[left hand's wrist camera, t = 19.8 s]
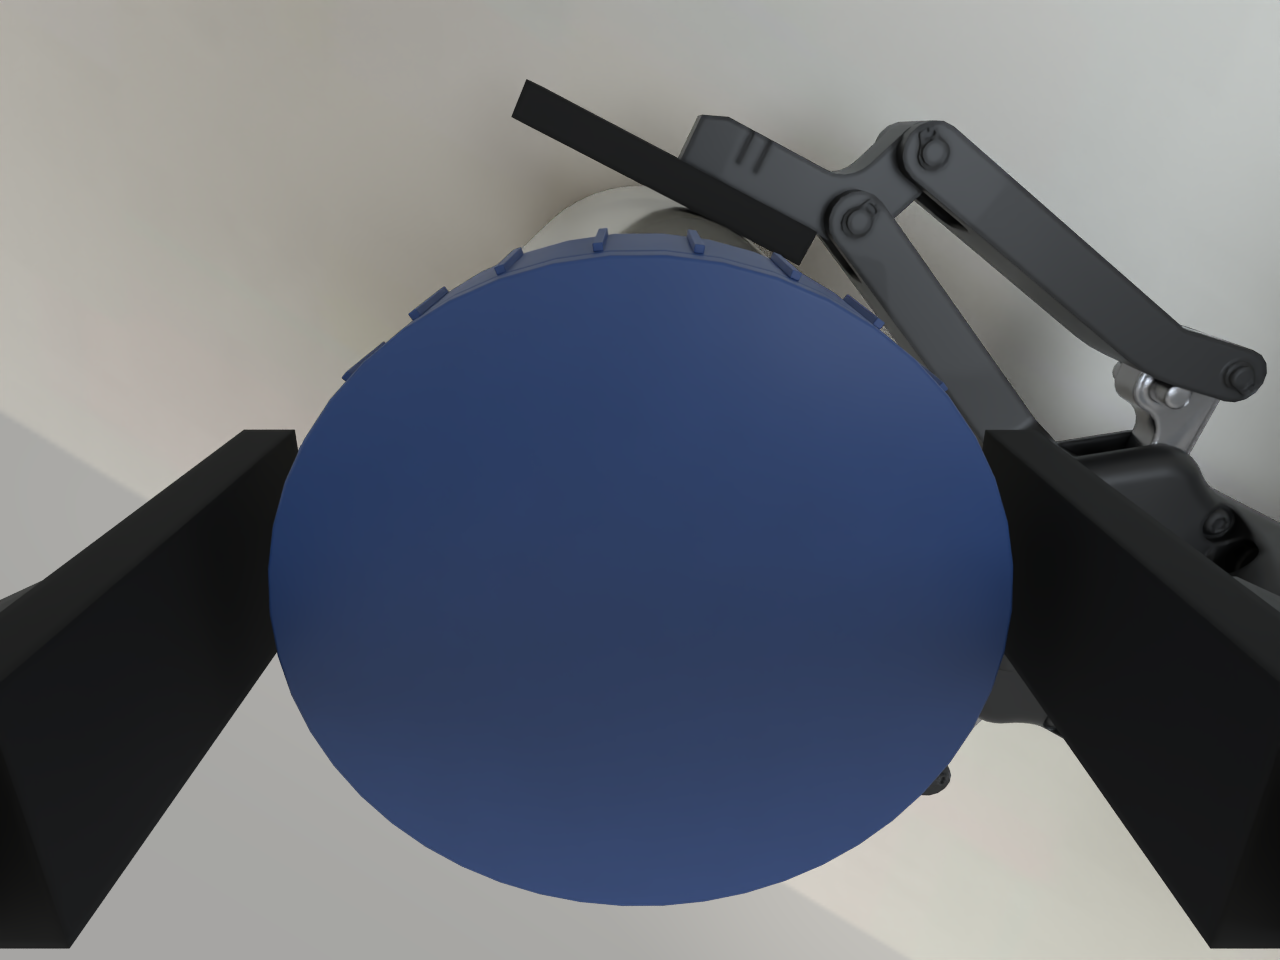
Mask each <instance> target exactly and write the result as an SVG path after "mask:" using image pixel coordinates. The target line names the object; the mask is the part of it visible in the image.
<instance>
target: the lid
mask: <svg viewBox="0 0 1280 960" xmlns="http://www.w3.org/2000/svg"><path fill="white" fill-rule="evenodd" d="M409 316H410V317H411V319H412V320H413V321H412V322H410V323H409V324H408V325H407V326H406V327H404V328H403V329H402V330H401V331H400V332H398V333H397V334H396V335H395V336H394V337H392V338H391V339H390V340H389V341H388V342H386V343H385V342H382V343H381V344H380V345H379V346H377V347H376V348H375V349H374V350H373V351H371V352H370V353H369V354H368V355H366V356H365V357H364V358H363V359H361V360H360V361H359V362H358V363H357V364H355V365H354V366H353V367H352V368H350V369H349V370H348V371H347V372H346V373H345V374H344V375H343V377H342V379H343V380H345V381H346V382H345V383H344V384H343V385H342V386H341V388H340V389H339V390H338V391H337V392H336V393H335V394H334V395H333V397H332V398H331V399H330V400H329V402H328V403H327V405H326V406H325V408H324V409H323V411H322V413H321V414H320V416H319V417H318V419H317V420H316V422H315V423H314V425H313V426H312V428H311V430H310V431H309V433H308V434H307V436H306V437H305V439H304V441H303V443H302V445H301V446H300V448H299V450H298V454H297V456H296V458H295V461H294V463H293V465H292V467H291V470H290V472H289V474H288V476H287V478H286V481H285V483H284V487H283V491H282V494H281V498H280V502H279V505H278V509H277V513H276V516H275V520H274V524H273V529H272V538H271V547H270V556H269V565H268V584H269V608H270V618H271V623H272V628H273V634H274V639H275V644H276V649H277V654H278V658H279V660H280V663H281V666H282V669H283V672H284V675H285V678H286V681H287V684H288V686H289V689H290V692H291V695H292V697H293V699H294V701H295V703H296V705H297V707H298V709H299V711H300V713H301V715H302V717H303V718H304V720H305V722H306V724H307V726H308V728H309V730H310V732H311V733H312V735H313V736H314V738H315V739H316V741H317V742H318V744H319V745H320V747H321V748H322V749H323V751H324V752H325V754H326V755H327V757H328V758H329V760H330V761H331V762H332V764H333V765H334V766H335V768H336V769H337V770H338V771H339V772H340V773H341V774H342V775H343V777H344V778H345V779H346V780H347V781H348V782H349V783H350V784H351V786H352V787H353V788H354V789H355V790H356V791H357V792H358V793H359V794H360V796H361V797H363V798H364V799H365V800H366V801H367V802H368V803H369V804H371V805H372V806H373V807H374V808H375V809H376V810H377V811H378V812H380V813H381V814H382V815H383V816H384V817H385V818H386V819H388V820H389V821H390V822H391V823H392V824H394V825H395V826H397V827H398V828H399V829H401V830H402V831H404V832H405V833H407V834H408V835H410V836H411V837H412V838H414V839H415V840H417V841H418V842H420V843H421V844H422V845H424V846H425V847H427V848H429V849H431V850H433V851H434V852H436V853H438V854H440V855H442V856H444V857H445V858H447V859H449V860H451V861H453V862H455V863H456V864H458V865H460V866H462V867H464V868H467V869H469V870H472V871H474V872H477V873H479V874H481V875H484V876H486V877H489V878H491V879H493V880H496V881H498V882H501V883H504V884H508V885H511V886H515V887H518V888H521V889H524V890H528V891H531V892H534V893H538V894H542V895H547V896H552V897H557V898H563V899H568V900H573V901H578V902H586V903H597V904H608V905H618V906H664V905H674V904H684V903H694V902H703V901H709V900H714V899H719V898H724V897H729V896H734V895H739V894H743V893H747V892H751V891H754V890H757V889H760V888H763V887H767V886H770V885H773V884H776V883H780V882H783V881H786V880H788V879H790V878H793V877H795V876H798V875H800V874H802V873H805V872H807V871H809V870H812V869H814V868H816V867H819V866H821V865H823V864H825V863H827V862H829V861H830V860H832V859H834V858H836V857H838V856H839V855H841V854H843V853H845V852H847V851H848V850H850V849H852V848H854V847H856V846H857V845H859V844H861V843H862V842H863V841H865V840H866V839H868V838H869V837H870V836H872V835H873V834H875V833H876V832H877V831H879V830H880V829H882V828H883V827H884V826H886V825H887V824H889V823H890V822H891V821H893V820H894V819H895V818H896V817H897V816H898V815H899V814H901V813H902V812H903V811H904V810H905V809H906V808H907V807H908V806H909V805H911V804H912V803H913V802H914V801H915V800H916V799H917V798H918V797H919V796H921V795H922V794H923V793H924V792H925V790H926V789H927V788H928V787H929V786H930V785H931V784H932V782H933V781H934V780H935V779H936V778H937V777H938V776H939V774H940V773H941V772H942V771H943V770H944V769H945V768H946V766H947V765H948V764H949V763H950V762H951V760H952V759H953V757H954V756H955V754H956V753H957V751H958V750H959V748H960V747H961V745H962V744H963V742H964V741H965V739H966V738H967V736H968V735H969V734H970V732H971V731H972V729H973V727H974V725H975V723H976V721H977V719H978V717H979V715H980V713H981V711H982V709H983V707H984V705H985V703H986V701H987V699H988V697H989V695H990V693H991V691H992V688H993V685H994V682H995V679H996V676H997V673H998V670H999V667H1000V664H1001V661H1002V658H1003V655H1004V652H1005V647H1006V641H1007V635H1008V630H1009V624H1010V619H1011V613H1012V593H1013V560H1012V552H1011V544H1010V536H1009V528H1008V521H1007V518H1006V514H1005V511H1004V507H1003V504H1002V500H1001V497H1000V493H999V490H998V486H997V483H996V479H995V477H994V475H993V473H992V470H991V468H990V466H989V464H988V462H987V460H986V457H985V455H984V453H983V451H982V449H981V447H980V445H979V442H978V440H977V438H976V436H975V434H974V433H973V431H972V430H971V428H970V427H969V425H968V424H967V423H966V421H965V420H964V418H963V417H962V415H961V414H960V412H959V411H958V409H957V408H956V406H955V405H954V403H953V402H952V400H951V399H950V397H949V396H948V394H947V393H946V392H945V391H947V390H948V388H947V386H946V385H945V384H944V382H942V381H941V380H940V379H939V378H937V377H936V376H935V375H934V374H933V373H931V372H930V371H929V370H928V369H926V368H925V367H924V366H923V365H922V364H920V363H919V362H918V361H917V360H916V359H915V358H913V357H912V356H911V355H910V354H909V353H907V352H906V351H905V350H904V349H902V348H901V347H900V346H899V345H898V344H896V343H895V342H894V341H893V340H891V339H890V338H889V337H888V336H887V335H885V334H884V333H883V332H882V331H880V330H879V329H881V328H882V326H883V325H884V324H885V322H883V321H882V320H881V319H879V318H878V317H877V316H875V315H874V314H873V313H872V312H870V311H869V310H868V309H866V308H865V307H864V306H863V305H861V304H860V303H859V302H857V301H856V300H855V299H853V298H852V297H851V296H850V295H848V294H847V295H846V296H845V298H844V299H841V298H840V297H839V296H838V295H836V294H835V293H834V292H832V291H830V290H829V289H827V288H825V287H824V286H822V285H820V284H819V283H817V282H815V281H814V280H812V279H811V278H809V277H807V276H806V275H804V274H802V273H801V272H800V271H799V270H797V269H796V268H795V267H794V266H793V265H792V264H790V263H789V262H788V261H787V260H786V259H785V258H783V257H782V256H781V255H779V254H777V253H775V252H773V253H772V256H771V258H767V257H765V256H763V255H760V254H758V253H755V252H753V251H749V250H745V249H742V248H738V247H734V246H731V245H727V244H723V243H720V242H716V241H712V240H708V239H701V238H700V236H699V234H698V233H697V231H696V230H688V231H687V237H685V236H678V235H670V234H662V233H661V234H610V235H608V229H607V228H601V229H599V230H598V232H597V234H596V236H595V237H589V238H582V239H575V240H568V241H564V242H561V243H557V244H554V245H550V246H547V247H543V248H540V249H536V250H533V251H529V252H526V253H523V251H522V248H521V247H520V248H517V249H514V250H513V251H512V252H510V253H509V254H508V255H507V256H506V257H505V258H504V259H503V260H502V261H501V262H500V263H499V264H497V265H496V266H493V267H491V268H489V269H487V270H484V271H482V272H480V273H479V274H477V275H475V276H474V277H472V278H471V279H469V280H467V281H466V282H464V283H463V284H461V285H459V286H458V287H456V288H454V289H453V290H451V291H450V292H448V290H447V289H446V288H445V287H443V288H441V289H440V290H438V291H437V292H436V293H434V294H433V295H432V296H431V297H429V298H428V299H427V300H425V301H424V302H423V303H422V304H420V305H419V306H418V307H416V308H415V309H414V310H413V311H411V312H410V313H409Z"/></svg>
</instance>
